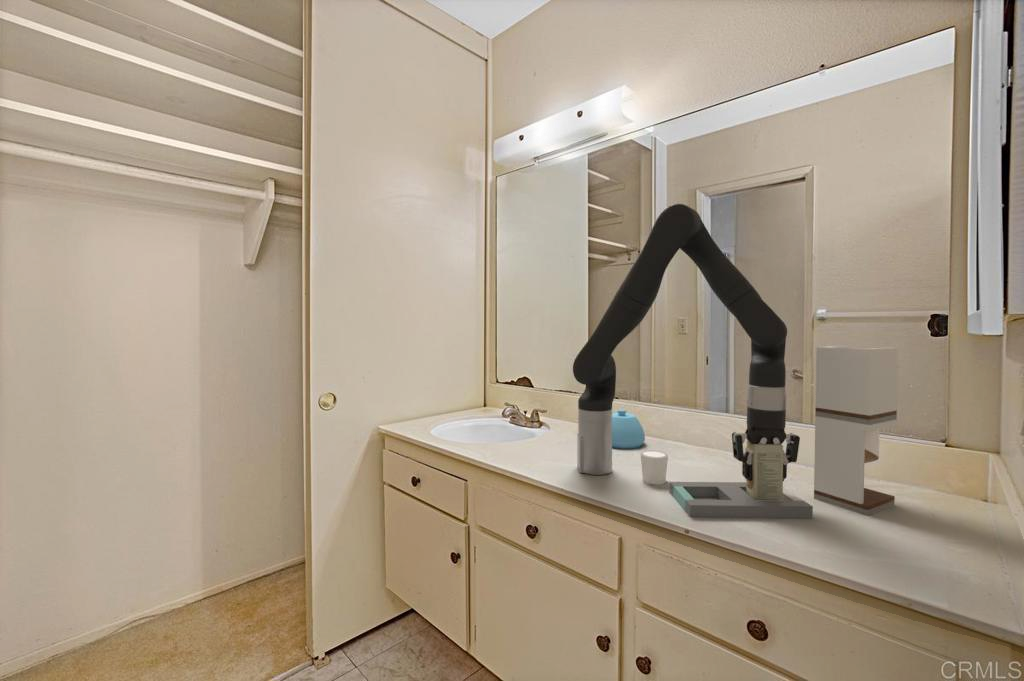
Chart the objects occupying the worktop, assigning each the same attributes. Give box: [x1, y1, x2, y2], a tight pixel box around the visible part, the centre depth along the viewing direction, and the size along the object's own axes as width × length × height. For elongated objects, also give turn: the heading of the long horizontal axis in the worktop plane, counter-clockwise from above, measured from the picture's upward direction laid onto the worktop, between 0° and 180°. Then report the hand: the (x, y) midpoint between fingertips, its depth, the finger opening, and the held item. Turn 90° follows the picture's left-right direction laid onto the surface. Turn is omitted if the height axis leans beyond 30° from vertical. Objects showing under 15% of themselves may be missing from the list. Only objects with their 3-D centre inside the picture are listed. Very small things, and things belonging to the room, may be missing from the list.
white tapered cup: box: [640, 450, 669, 485], centre depth 116 cm, size 7×7×7 cm
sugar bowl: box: [612, 408, 646, 450], centre depth 152 cm, size 15×15×12 cm
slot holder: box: [668, 481, 814, 519], centre depth 101 cm, size 25×14×2 cm, turn 88°
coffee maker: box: [813, 345, 899, 517], centre depth 101 cm, size 11×11×35 cm
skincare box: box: [745, 439, 784, 500], centre depth 100 cm, size 6×4×12 cm
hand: (764, 479), depth 100 cm, fingers closed on skincare box, 6 cm apart
